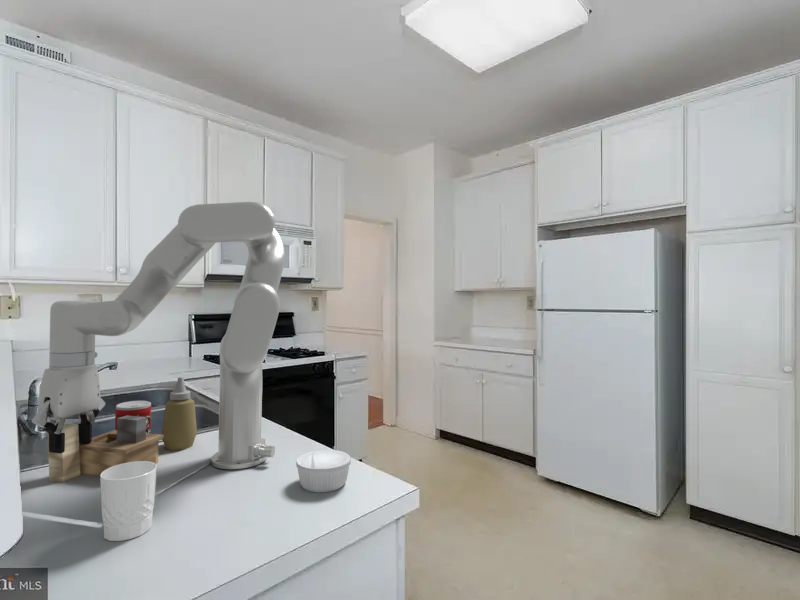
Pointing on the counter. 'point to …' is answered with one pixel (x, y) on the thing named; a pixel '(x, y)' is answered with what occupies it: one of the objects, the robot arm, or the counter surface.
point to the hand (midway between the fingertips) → (70, 446)
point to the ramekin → (323, 470)
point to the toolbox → (114, 457)
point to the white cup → (127, 499)
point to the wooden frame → (124, 437)
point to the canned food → (135, 411)
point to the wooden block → (66, 456)
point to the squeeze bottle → (179, 419)
